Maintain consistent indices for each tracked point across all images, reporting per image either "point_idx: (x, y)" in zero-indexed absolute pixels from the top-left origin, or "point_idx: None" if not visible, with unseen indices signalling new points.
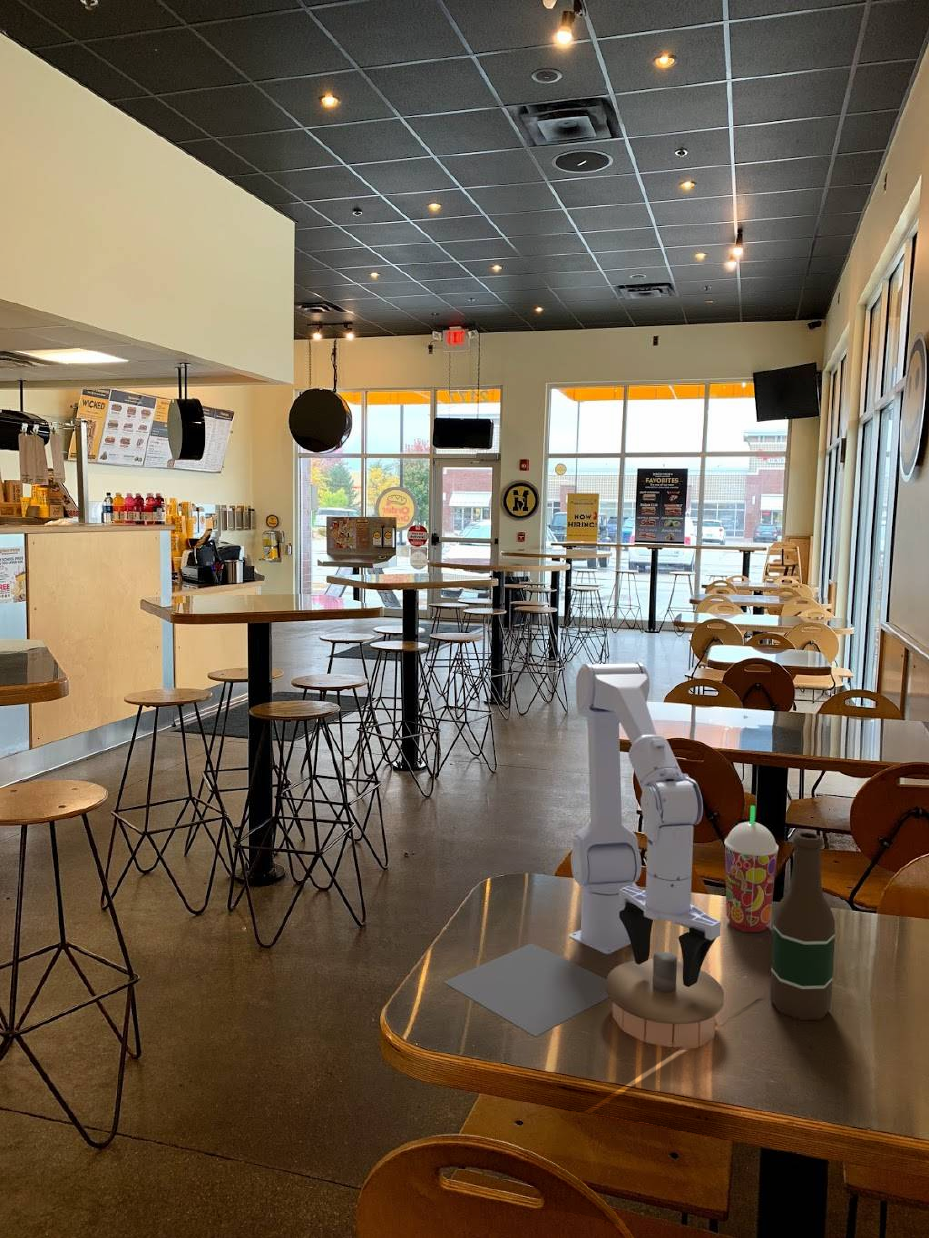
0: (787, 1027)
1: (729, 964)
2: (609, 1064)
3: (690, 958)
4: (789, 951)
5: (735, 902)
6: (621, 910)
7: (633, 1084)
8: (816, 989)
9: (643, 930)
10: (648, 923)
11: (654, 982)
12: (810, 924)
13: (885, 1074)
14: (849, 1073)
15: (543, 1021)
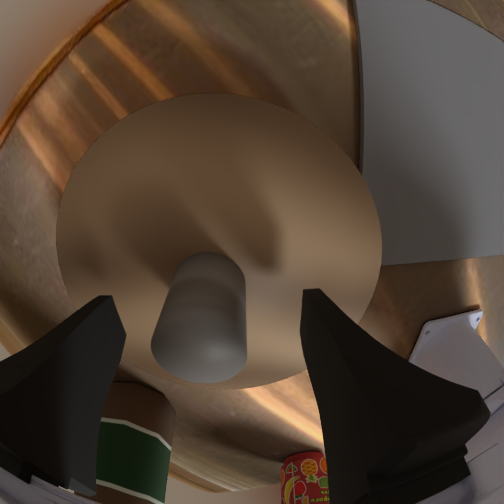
0: None
1: (267, 419)
2: (179, 18)
3: (17, 355)
4: (102, 463)
5: (313, 478)
6: (479, 430)
7: (106, 23)
8: None
9: (335, 412)
10: (331, 448)
11: (218, 263)
12: None
13: (14, 342)
14: (16, 322)
15: (386, 26)
